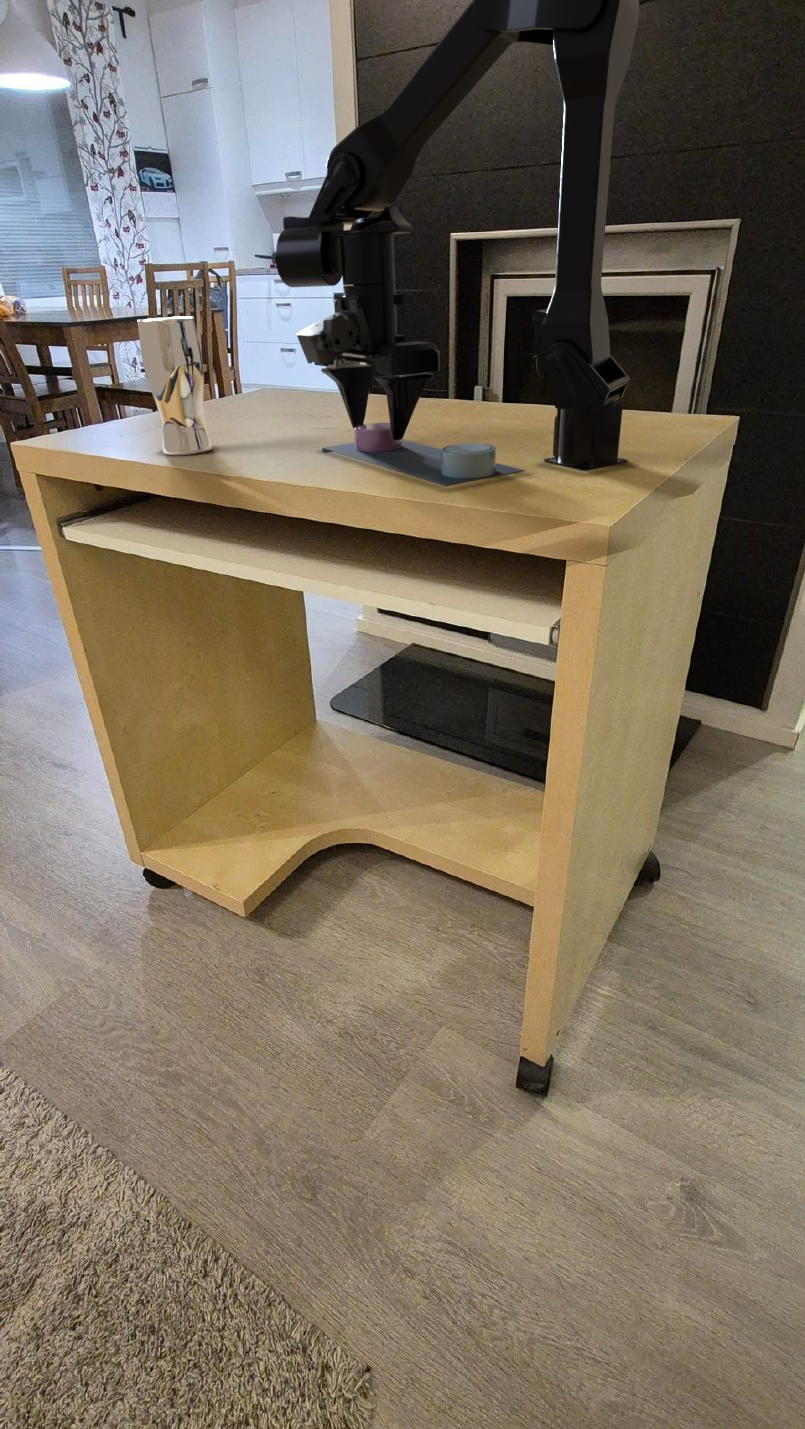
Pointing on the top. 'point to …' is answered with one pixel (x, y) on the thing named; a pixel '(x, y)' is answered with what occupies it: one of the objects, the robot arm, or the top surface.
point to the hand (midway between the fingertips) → (377, 434)
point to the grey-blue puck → (468, 460)
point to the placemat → (412, 461)
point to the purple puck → (375, 438)
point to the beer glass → (176, 382)
